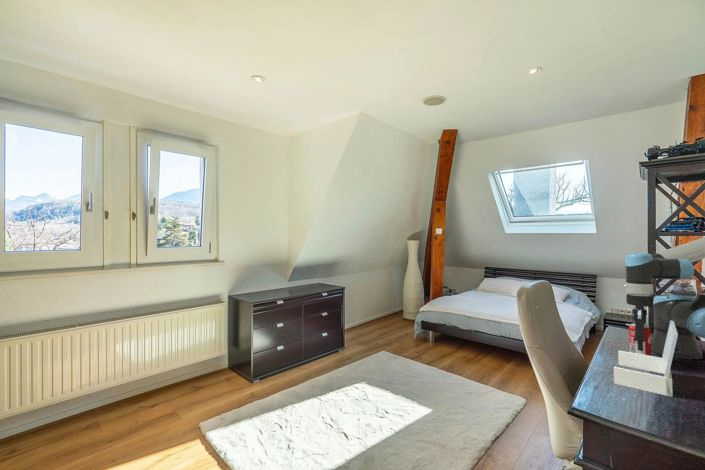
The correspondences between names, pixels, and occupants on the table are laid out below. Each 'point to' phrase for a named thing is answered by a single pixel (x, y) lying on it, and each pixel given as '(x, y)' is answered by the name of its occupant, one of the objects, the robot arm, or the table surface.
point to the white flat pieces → (639, 378)
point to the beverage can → (647, 337)
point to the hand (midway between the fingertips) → (640, 356)
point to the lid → (669, 348)
